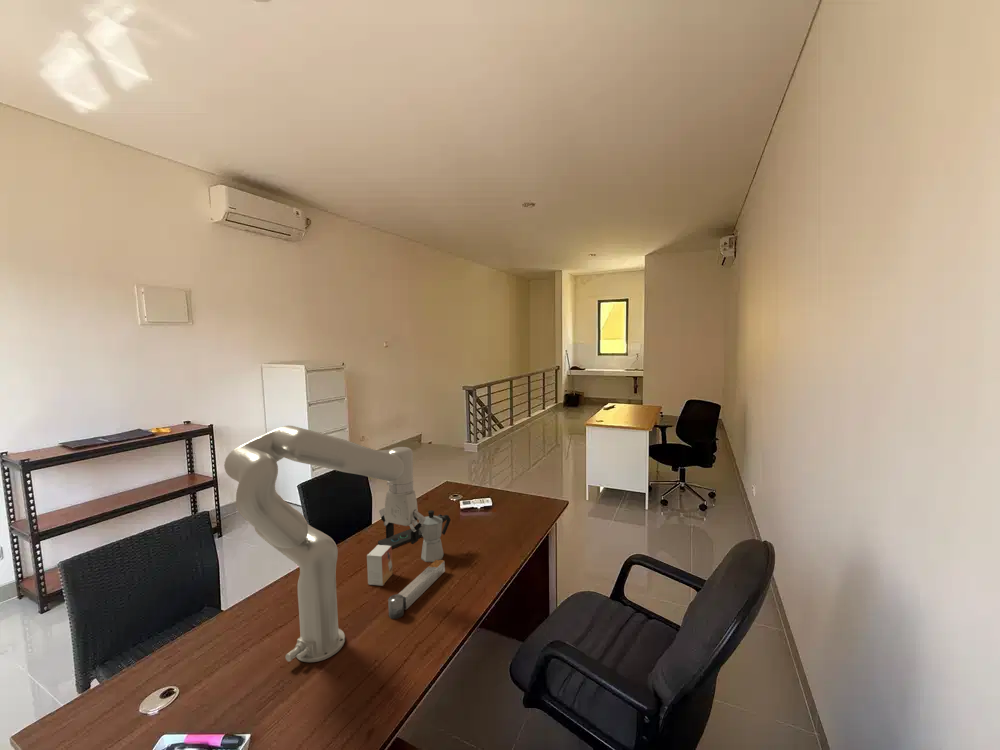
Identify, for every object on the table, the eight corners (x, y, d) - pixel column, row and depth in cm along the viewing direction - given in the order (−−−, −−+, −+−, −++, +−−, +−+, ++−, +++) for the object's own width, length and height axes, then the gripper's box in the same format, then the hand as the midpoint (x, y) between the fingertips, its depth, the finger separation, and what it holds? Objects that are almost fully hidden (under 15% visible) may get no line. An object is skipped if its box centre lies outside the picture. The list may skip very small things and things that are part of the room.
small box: (382, 586, 146) (381, 556, 145) (367, 584, 147) (366, 555, 146) (393, 573, 154) (392, 545, 153) (378, 572, 155) (377, 544, 154)
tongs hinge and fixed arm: (397, 620, 128) (397, 604, 128) (385, 617, 130) (385, 601, 129) (446, 572, 154) (445, 559, 154) (435, 570, 156) (435, 556, 155)
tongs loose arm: (406, 609, 133) (405, 597, 132) (402, 608, 133) (401, 595, 133) (444, 571, 154) (444, 560, 154) (440, 570, 155) (440, 559, 154)
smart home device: (377, 540, 177) (418, 525, 191) (377, 544, 177) (418, 529, 191) (387, 547, 171) (429, 531, 185) (387, 551, 171) (429, 535, 185)
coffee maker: (424, 567, 158) (422, 519, 156) (412, 558, 165) (410, 512, 163) (457, 553, 168) (456, 508, 166) (444, 545, 174) (443, 502, 173)
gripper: (371, 486, 137) (372, 539, 138) (416, 494, 130) (417, 549, 131) (387, 480, 144) (388, 530, 145) (430, 486, 136) (431, 539, 138)
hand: (402, 539), depth 138 cm, fingers open, 9 cm apart
